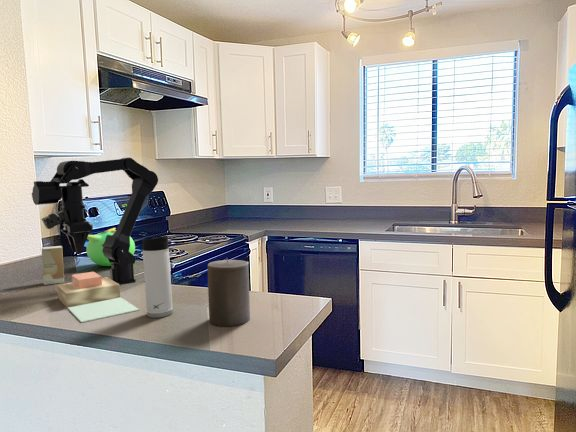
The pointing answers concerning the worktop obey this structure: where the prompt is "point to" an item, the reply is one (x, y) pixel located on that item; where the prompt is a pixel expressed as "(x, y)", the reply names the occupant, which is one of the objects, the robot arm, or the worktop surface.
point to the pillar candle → (228, 292)
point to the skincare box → (52, 265)
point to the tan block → (88, 293)
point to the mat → (102, 309)
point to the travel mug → (157, 277)
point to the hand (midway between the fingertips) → (76, 252)
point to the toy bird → (96, 247)
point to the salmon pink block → (86, 280)
